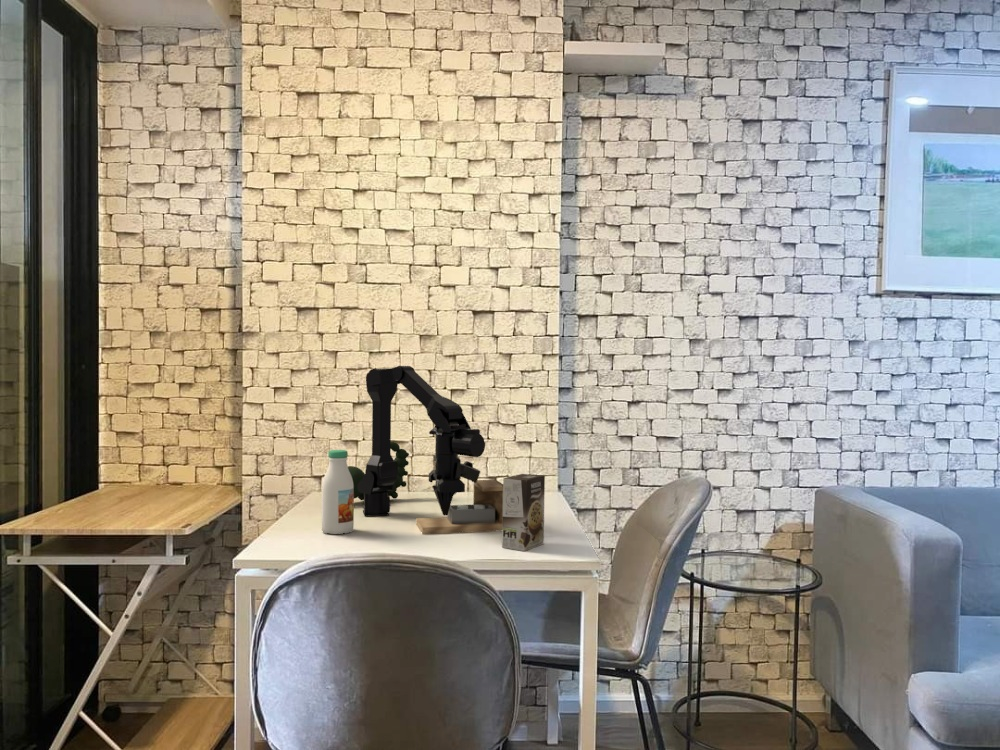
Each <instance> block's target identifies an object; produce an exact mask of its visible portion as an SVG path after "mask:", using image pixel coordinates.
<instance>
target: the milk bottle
mask: <svg viewBox="0 0 1000 750" xmlns="http://www.w3.org/2000/svg"><path fill="white" fill-rule="evenodd" d="M348 454H349V453H348V450H347V449H332V450H328V454H327V455H328V460H329V463H328V467H327V470H326V472H325V474H324V476H323V480H322V485H321V531H323V532H325V533H324V534H327V533H331V534H330V535H343V533H345V534H349V532H350V533H352V532H353V531H354V525H355V524H354V522H355V521H354V520H355V517H354V516H355V515H354V512H355V511H354V507H355V505H354V504H355V501H354V500H355V498H354V487H353V480H352V476H351V474H350V472H349V470H348V467H347V466H348V462H347V461H348ZM323 532H322V533H323Z"/></svg>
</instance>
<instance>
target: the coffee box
mask: <svg viewBox="0 0 1000 750" xmlns="http://www.w3.org/2000/svg"><path fill="white" fill-rule="evenodd" d="M502 479H503V483H502V484H503V524H502V532H501V534H502V535H501V536H502V537H501V547H502V548H504V549H509V550H510V549H511V550H515V551H521V552H527V551H529V550H530V549H534V548H536V546H537V547H539V546H542V545H544V544H545V494H546V493H545V490H546V488H545V486H546V485H545V484H546V483H545V482H546V480H545V479H546V475H542V474H532V473H529V474H528V473H520V474H516V475H515V474H514V475H512V476H507V477H506V476H505V477H503V478H502Z"/></svg>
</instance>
